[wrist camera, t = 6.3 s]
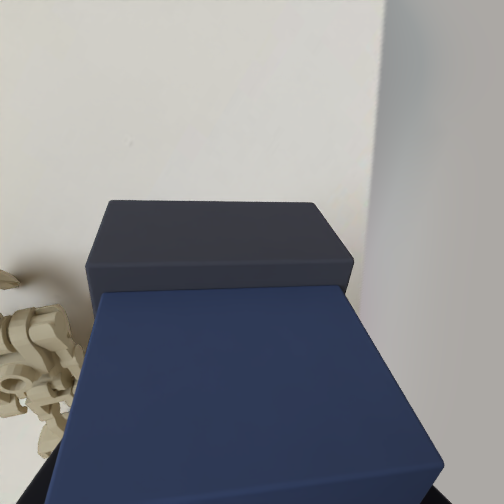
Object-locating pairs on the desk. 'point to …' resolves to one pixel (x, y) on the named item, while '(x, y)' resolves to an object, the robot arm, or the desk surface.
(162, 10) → the desk surface
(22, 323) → the toy
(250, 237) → the stepped navy block
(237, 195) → the desk surface
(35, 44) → the desk surface
